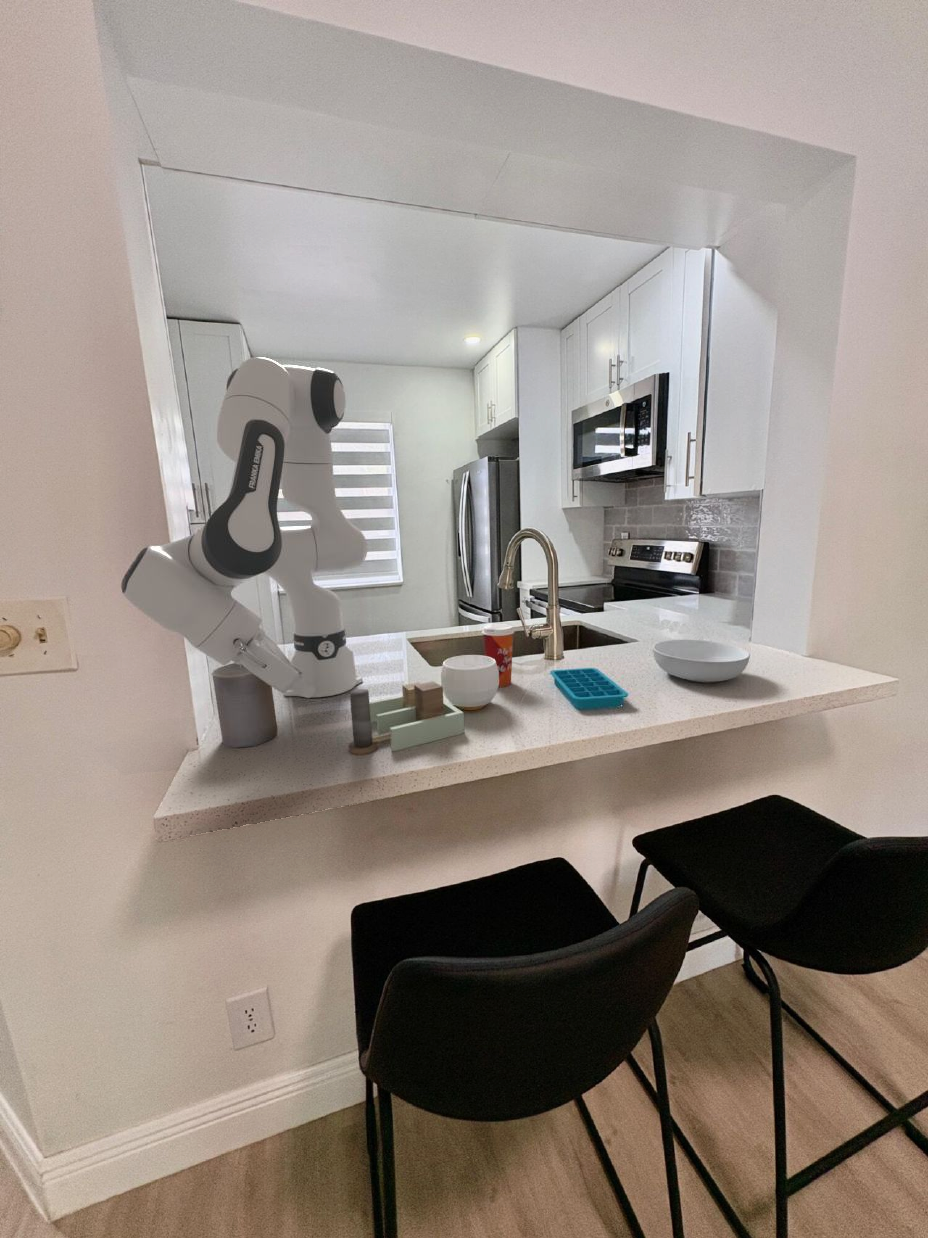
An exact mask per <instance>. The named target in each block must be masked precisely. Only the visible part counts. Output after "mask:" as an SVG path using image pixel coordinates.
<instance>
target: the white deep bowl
mask: <svg viewBox="0 0 928 1238" xmlns="http://www.w3.org/2000/svg"><path fill="white" fill-rule="evenodd" d="M440 679H441V682H440V683H441V684H440V685H441V686H442V687H443V696H445V698H446V699H447V700H448V703H450V704H451V705H453V706H457V707H458V709H459V710H465V711H475V710H480V709H482V708H483V707H484V706H486V705H488V704H490V702H491V701H492V700H493V699H494V698H495V696H496V695H497V692H498V689H499V687H498V686H499V671H498V668H497V664H496V661H495V659H493V658H491V657H487V656H485V655H482V654H481V655H480V654H465V655H464V654H463V655H458V656H453V657H449V658H447V659H445V660H443V663H442V666H441V671H440Z"/></svg>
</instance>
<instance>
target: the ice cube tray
mask: <svg viewBox="0 0 928 1238" xmlns="http://www.w3.org/2000/svg"><path fill="white" fill-rule="evenodd" d="M549 674H550V676H552V677H553V682H554V685H555V686H556V688H558V690H559V691H560V692H561V694H563V696H564V697H565V698H566V699H567V700H568V701H569V703H570V704H571V705H572V706H573V707H574V708H575V709H576V710H580V711H581V710H596V708H598V709H610V707H612V708H618V707H617V706H621V705H624V704H623V703H624V699H625V698H628V697H629V693H628V692H627V691H625V690H624V689H623V688H622V687H621V686H619V685H618V684H617V683H616V682H614V681H613V680H612V679H610V678H609V677H608V676H607V675H605V673H603V672H602V671H601V670H600V669H598V668H595V667H587V668H586V667H584V668H569V669H568V668H567V669H553V670H551V671H550V672H549Z"/></svg>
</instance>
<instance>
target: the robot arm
mask: <svg viewBox="0 0 928 1238" xmlns="http://www.w3.org/2000/svg"><path fill="white" fill-rule="evenodd" d="M346 403H347V402H346V393H345V390H344V385H343V382H342V380H341V379H340V377H339V376H338V375H337V373H336V372H334V371H332V370H329V369H325V368H321V367H316V368H311V367H307V366H300V365H292V364H280V363H278V362H276V361H275V360H273V359H270V358H268V357H267V358H266V357H262V356H257V357H255V356H254V357H250V358H248V359H246V360H245V361H243V362H242V363H241V364H240V366H239V367H238V368H236V369H234V370H233V371H232V372H231V373H230V375H229V376H228V378H227V381H226V392H225V394H224V398H223V401H222V404H221V407H220V411H219V415H218V420H217V428H216V442H217V444H218V446H219V448H220V450H221V451H222V452H223V453H224V454H225V455H226V456H227V458H229V459H230V460H232V461H233V462H234V463H235V464H234V470H233V473H232V474H233V475H232V480H231V485H230V487H229V488H230V489H229V494H228V496H227V498H226V500H225V501H224V502H223V503H222V504H221V505H220V506H218V507H217V509H216V510H215V511H213V513H211V515H210V517H209V518H208V519H207V521H206V522H205V523H204V524H203V525H202V526H201V528H199V530H198V531H197V532H196V533H194V534H190V535H189V536H186V537H184V538H181V539H179V540H175V541H172V542H169V543H165V544H160V545H158V544H157V545H147V546H146V547H144V548H143V549H142V550H140V552H138V554H137V555H136V557H135V559H134V560H133V562H132V563H131V564H130V566H129V568H128V570H127V571H126V573H125V574H124V576H123V578H122V580H121V583H120V585H121V586H120V587H121V591H122V594H123V597H125V598H126V599H127V601H129V602H130V604H132V605H133V606H134V607H136V608H137V609H138V610H139V611H141V613H143V614H144V615H146V616H147V617H148V618H150V619H151V620H152V621H154V622H156V624H158V625H160V626H162V627H163V628H164V629H166V630H168V631H171V632H174V633H177V634H178V635H181V636H182V637H183V638H185V639H186V641H188V643H190V645H191V646H192V647H194V648H195V649H197V650H198V651H199V652H201V653H203V654H204V655H206V656H207V657H209V658H210V659H212V660H214V661H215V662H217V663H218V664H220V665H221V666H225V665H228V664H230V662H231V661H232V662H233V663H236V664H237V665H239V664H242V665H243V666H244V667H245V668H247V669H248V670H249V671H250V672H252V673H253V674H254V675H256V676H257V677H259V678H260V679H261V680H263V681H264V682H266V683H267V684H269V685H270V686H271V687H272V689H275V690H276V691H278V692H279V693H283V696H285V697H302V698H307V699H309V698H323V697H330V696H336V695H340V694H343V693H346V692H348V691H350V690H352V689H353V688H354V687H355V686H356V685H358V684H360V683H362V682H363V677H362V676H360V675H358V674H356V673H357V672H356V665H355V658H354V651H353V650H352V649H351V648H349V647H348V646H347V634H346V629H345V628H344V623H343V611H342V602H341V599H340V597H339V596H338V595H337V594H336V593H335V592H334V591H332V590H329V589H328V588H325V587H323V586H320V585H317V584H316V583H314V580H313V575H314V574H323V573H326V574H327V573H337V572H346V571H348V570H352V569H354V568H358V567H361V566H362V564H363V563H364V562H365V560H366V557H367V556H368V555H367V554H368V543H367V540H366V536H365V535H364V534H363V532H362V531H361V530H360V529H359V527H357V526H355V525H354V524H352V522H350V521H349V519H347V518H346V516H345V514H344V513H343V512H342V510H341V508H340V505H339V503H338V500H337V496H336V495H337V494H336V489H335V480H334V463H333V462H334V460H333V450H332V442H331V437H330V433H331V432H332V430H333V428H336V427H337V426H338V425H339V424H340V422H341V421H342V420H343V417H344V414H345V410H346V409H345V408H346ZM280 486H281V487H280ZM280 488H281V494H282V497H283V498H284V500H285V502H287V504H289V505H290V506H291V507H293V508H295V509H297V510H299V511H301V512H303V513H306V514H308V515H310V517H311V521H312V524H310V525H295V526H293V525H291V526H289V525H288V526H280V524H279V523H280V522H279V519H278V499H279V492H280ZM261 574H264V575H266V576H268V577H269V578H270V579H272V580H274V582H276V583H277V584H278V585H279V586H280V588H282V590H283V591H284V593H285V594H286V597H287V599H288V601H289V604H290V608H291V612H292V619H293V625H294V626H293V627H294V634H293V638H292V639H293V648H294V652H293V654H292V656H291V659H290V660H289V659H288V657H287V656H286V655H285V653H284V652H283V650H282V649H281V648H280V647H279V646H278V645H277V644H276V642H274V640H272V639H271V638H270V637H269V635H267V634H266V632H265V630H263V629H262V628H261V627H260V626H261V624H262V618H261V617H260V616H259V615H257V614H255V613H254V612H253V611H252V610H250V609H249V608H247V607H246V606H245V605H243V604H242V603H240V601H238V600H236V599H235V598H234V597H232V596H233V595H232V591H233V590H234V589H235V588H237V587H239V586H241V585H242V584H244V583H246V582H247V581H249V580H251V579H252V578H253V577H256V576H259V575H261Z"/></svg>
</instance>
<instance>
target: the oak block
mask: <svg viewBox="0 0 928 1238" xmlns="http://www.w3.org/2000/svg"><path fill="white" fill-rule="evenodd" d="M417 684H421V683H420V682H419V681H417V682H411V683H406V684H402V685H401V686H402V687H401V688H402V689H401V690H402V691H401V692H402V695H403V707H404V708H408V707H413V706H415V693H414V685H417Z"/></svg>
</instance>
